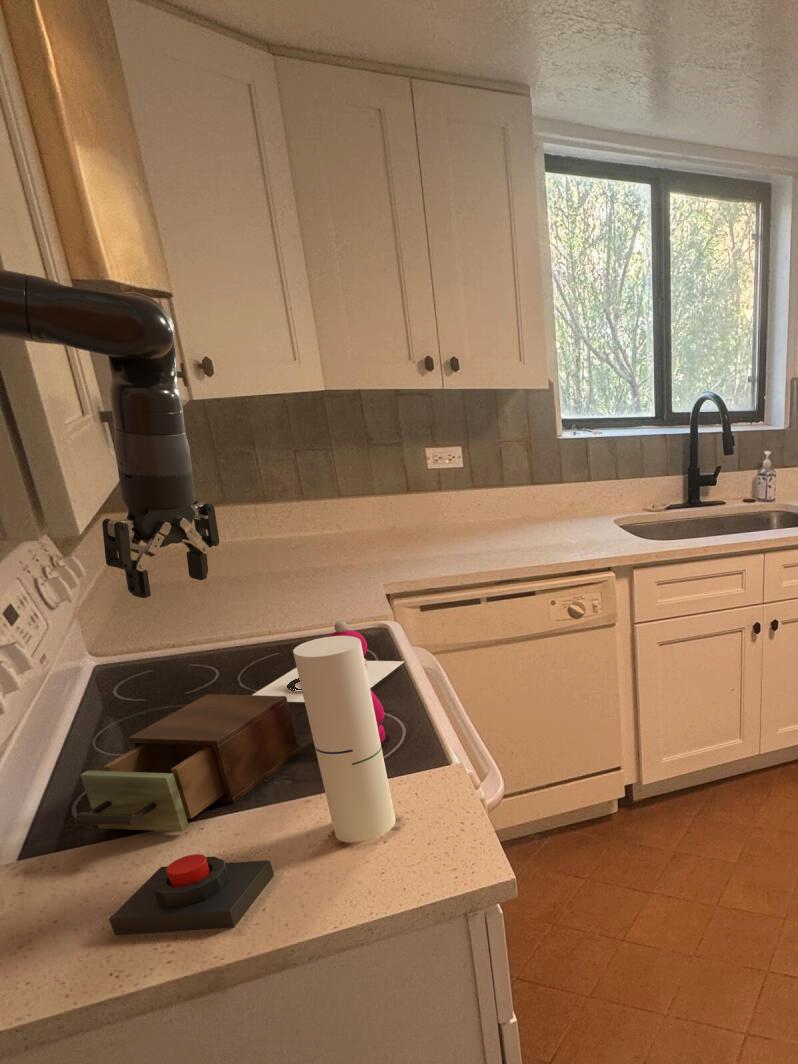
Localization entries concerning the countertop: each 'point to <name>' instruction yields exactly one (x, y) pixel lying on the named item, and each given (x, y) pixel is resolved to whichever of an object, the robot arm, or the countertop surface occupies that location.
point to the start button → (188, 870)
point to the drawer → (153, 788)
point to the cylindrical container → (345, 736)
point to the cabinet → (232, 736)
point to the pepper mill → (378, 708)
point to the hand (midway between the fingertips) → (170, 587)
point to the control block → (193, 899)
